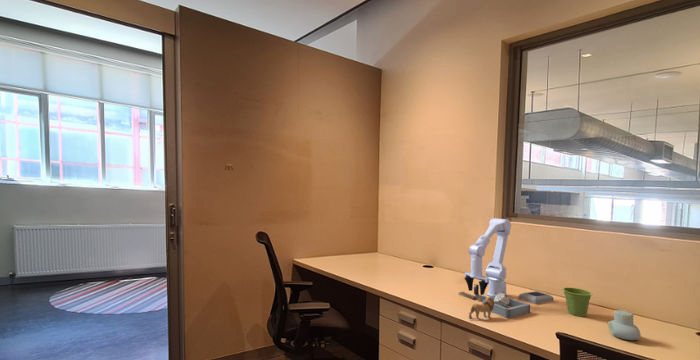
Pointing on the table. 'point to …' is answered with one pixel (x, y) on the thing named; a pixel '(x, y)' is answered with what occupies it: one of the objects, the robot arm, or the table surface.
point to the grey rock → (501, 300)
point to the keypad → (536, 297)
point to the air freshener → (624, 326)
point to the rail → (467, 295)
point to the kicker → (476, 291)
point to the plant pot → (577, 301)
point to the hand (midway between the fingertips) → (476, 292)
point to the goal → (511, 309)
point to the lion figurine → (483, 308)
